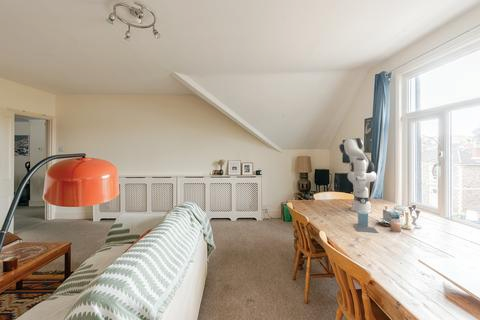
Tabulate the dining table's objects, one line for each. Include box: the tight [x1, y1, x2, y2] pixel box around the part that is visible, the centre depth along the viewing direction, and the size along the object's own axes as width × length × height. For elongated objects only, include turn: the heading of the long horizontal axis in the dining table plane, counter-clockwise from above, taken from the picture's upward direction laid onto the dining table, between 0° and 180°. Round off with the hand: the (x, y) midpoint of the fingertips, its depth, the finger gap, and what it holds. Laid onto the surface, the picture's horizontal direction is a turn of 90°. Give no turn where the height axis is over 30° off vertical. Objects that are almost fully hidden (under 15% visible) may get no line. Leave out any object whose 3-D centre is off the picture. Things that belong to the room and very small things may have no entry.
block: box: [357, 212, 369, 227], centre depth 168 cm, size 5×6×10 cm
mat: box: [353, 225, 379, 234], centre depth 160 cm, size 11×14×1 cm
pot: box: [390, 221, 402, 233], centre depth 157 cm, size 6×6×6 cm
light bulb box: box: [382, 208, 401, 224], centre depth 171 cm, size 11×7×11 cm, turn 179°
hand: (359, 194), depth 179 cm, fingers open, 8 cm apart
